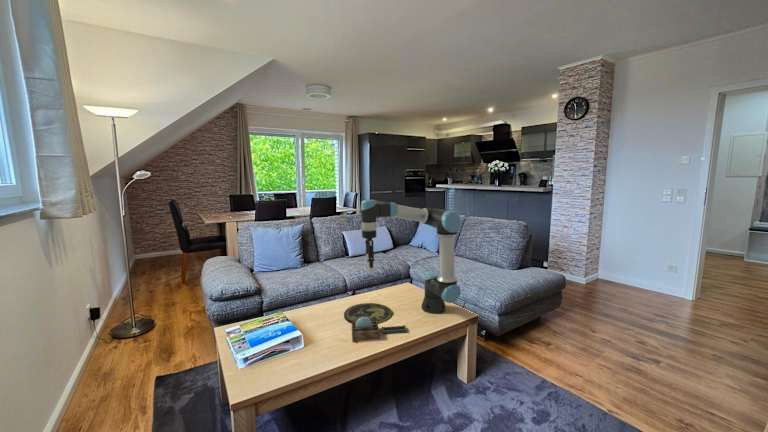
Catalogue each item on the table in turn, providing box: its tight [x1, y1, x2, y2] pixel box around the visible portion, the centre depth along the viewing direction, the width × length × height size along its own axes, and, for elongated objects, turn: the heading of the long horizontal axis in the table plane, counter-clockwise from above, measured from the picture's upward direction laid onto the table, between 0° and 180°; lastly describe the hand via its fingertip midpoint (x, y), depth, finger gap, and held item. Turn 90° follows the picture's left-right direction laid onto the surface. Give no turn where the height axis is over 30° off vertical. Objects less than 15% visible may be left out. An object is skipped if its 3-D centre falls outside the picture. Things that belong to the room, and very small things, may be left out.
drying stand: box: [381, 324, 408, 335], centre depth 177 cm, size 13×6×2 cm, turn 98°
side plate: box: [355, 317, 372, 328], centre depth 173 cm, size 9×2×9 cm, turn 98°
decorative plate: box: [343, 302, 394, 325], centre depth 199 cm, size 30×2×30 cm
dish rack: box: [351, 321, 380, 343], centre depth 173 cm, size 14×12×5 cm
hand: (370, 269), depth 170 cm, fingers open, 13 cm apart
